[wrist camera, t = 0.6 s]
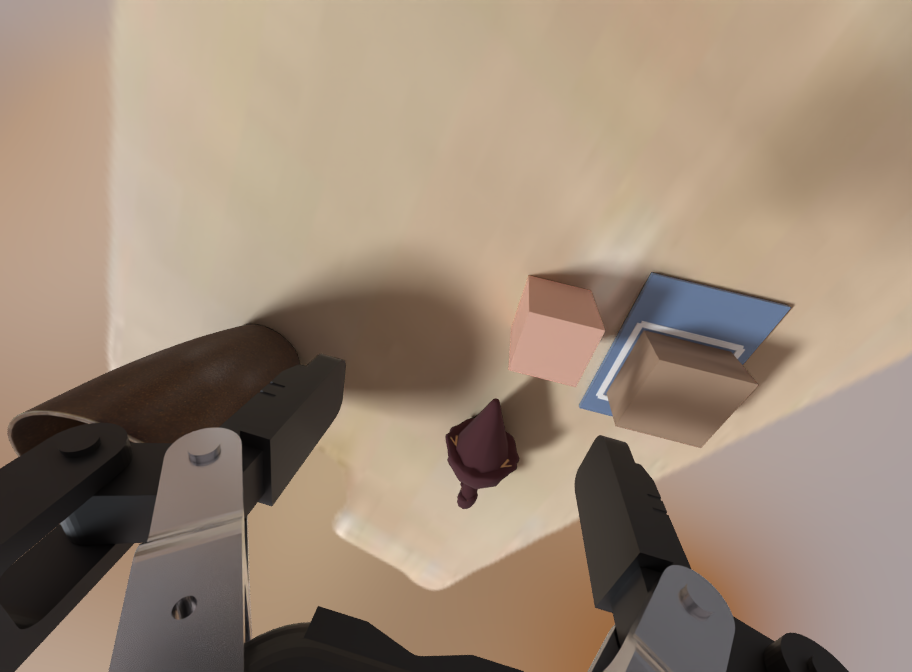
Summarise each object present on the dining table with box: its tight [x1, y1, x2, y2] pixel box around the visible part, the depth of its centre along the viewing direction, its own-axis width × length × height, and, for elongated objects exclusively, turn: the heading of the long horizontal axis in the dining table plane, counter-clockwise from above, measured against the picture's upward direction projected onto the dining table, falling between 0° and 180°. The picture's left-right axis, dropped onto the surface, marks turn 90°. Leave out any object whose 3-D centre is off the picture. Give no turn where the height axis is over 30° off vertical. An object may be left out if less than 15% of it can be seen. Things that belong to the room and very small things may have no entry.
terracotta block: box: [508, 275, 605, 387], centre depth 26 cm, size 5×5×6 cm
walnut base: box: [606, 330, 759, 448], centre depth 28 cm, size 7×7×4 cm
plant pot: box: [8, 324, 300, 457], centre depth 30 cm, size 15×15×16 cm
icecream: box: [446, 399, 519, 509], centre depth 35 cm, size 7×7×15 cm
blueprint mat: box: [579, 272, 791, 416], centre depth 29 cm, size 14×10×1 cm
